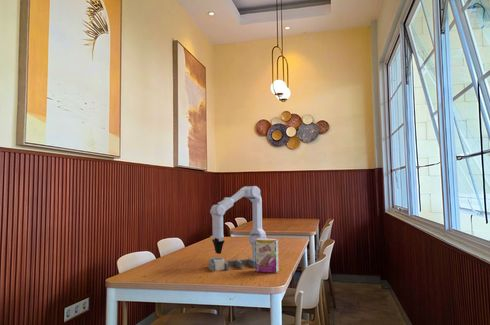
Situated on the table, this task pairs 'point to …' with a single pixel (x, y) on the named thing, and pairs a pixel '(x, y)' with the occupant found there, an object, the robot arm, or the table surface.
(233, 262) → the e-shaped shelf rack
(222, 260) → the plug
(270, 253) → the candy bar box
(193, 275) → the table surface
